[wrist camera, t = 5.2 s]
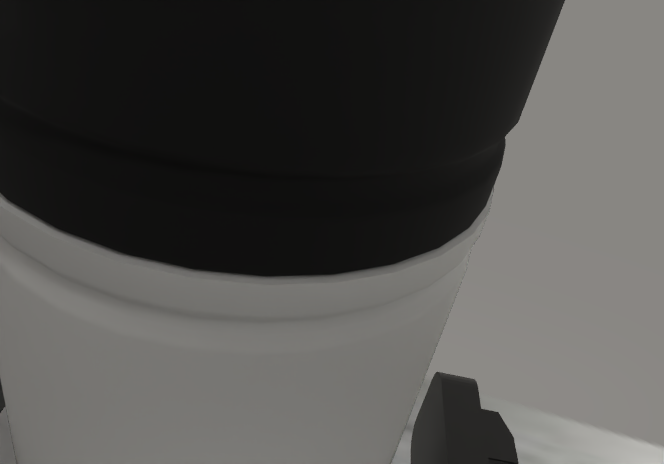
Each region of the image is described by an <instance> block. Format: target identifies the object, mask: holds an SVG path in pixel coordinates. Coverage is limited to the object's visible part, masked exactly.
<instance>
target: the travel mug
mask: <svg viewBox="0 0 664 464" xmlns="http://www.w3.org/2000/svg"><path fill="white" fill-rule="evenodd" d="M564 1H565V0H0V379H1V385H2V390H3V395H4V400H5V405H6V410H7V416H8V421H9V426H10V431H11V436H12V441H13V447H14V452H15V457H16V462H17V464H391V462H392V459H393V457H394V454H395V452H396V449H397V447H398V444H399V441H400V439H401V436H402V434H403V431H404V429H405V426H406V424H407V421H408V418H409V416H410V413H411V411H412V408H413V406H414V403H415V400H416V398H417V395H418V393H419V390H420V388H421V385H422V383H423V380H424V377H425V375H426V372H427V370H428V367H429V364H430V362H431V359H432V357H433V354H434V352H435V349H436V347H437V344H438V341H439V339H440V336H441V334H442V331H443V329H444V326H445V324H446V321H447V319H448V316H449V313H450V311H451V308H452V306H453V303H454V300H455V298H456V295H457V293H458V290H459V288H460V285H461V283H462V280H463V277H464V275H465V272H466V270H467V265H468V261H469V257H470V253H471V248H472V246H473V245H474V244H475V242H476V241H477V239H478V238H479V237H480V234H481V231H482V229H483V226H484V224H485V221H486V218H487V216H488V213H489V210H490V206H491V201H492V196H493V191H494V184H495V181H496V178H497V176H498V173H499V171H500V168H501V165H502V160H503V155H504V149H505V136H506V135H507V134H508V132H510V130H511V129H512V128H513V127H514V126H515V125H516V124H517V123H518V121H519V119H520V116H521V113H522V110H523V108H524V106H525V103H526V100H527V98H528V95H529V92H530V90H531V87H532V85H533V82H534V80H535V77H536V74H537V72H538V69H539V66H540V64H541V61H542V58H543V56H544V53H545V51H546V48H547V46H548V43H549V40H550V38H551V35H552V32H553V30H554V27H555V25H556V22H557V20H558V17H559V14H560V11H561V9H562V6H563V4H564Z"/></svg>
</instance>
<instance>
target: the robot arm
mask: <svg viewBox="0 0 664 464" xmlns="http://www.w3.org/2000/svg"><path fill="white" fill-rule="evenodd" d="M5 406H6V405H5V400H4V395H3V390H2V385H1V379H0V413H1V411H2V410H3V408H4V407H5ZM411 464H518V458H517V453H516V448H515V443H514V438H513V436H512V434H511V432H510V431H509V429H508V427H507V426H506V424H505V423H504V421H503V419H502V418H501V416H500V414H499V413H498V412H494V411H489V410H484V409H481V405H480V398H479V392H478V386H477V383H476V381H475V380H474V379H470V378H465V377H460V376H455V375H450V374H445V373H440V372H436V373H435V375H434V377H433V379H432V381H431V384H430V386H429V389H428V391H427V394H426V396H425V399H424V401H423V404H422V406H421V409H420V411H419V414H418V416H417V419H416V421H415V425H414V429H413V434H412V441H411Z"/></svg>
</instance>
